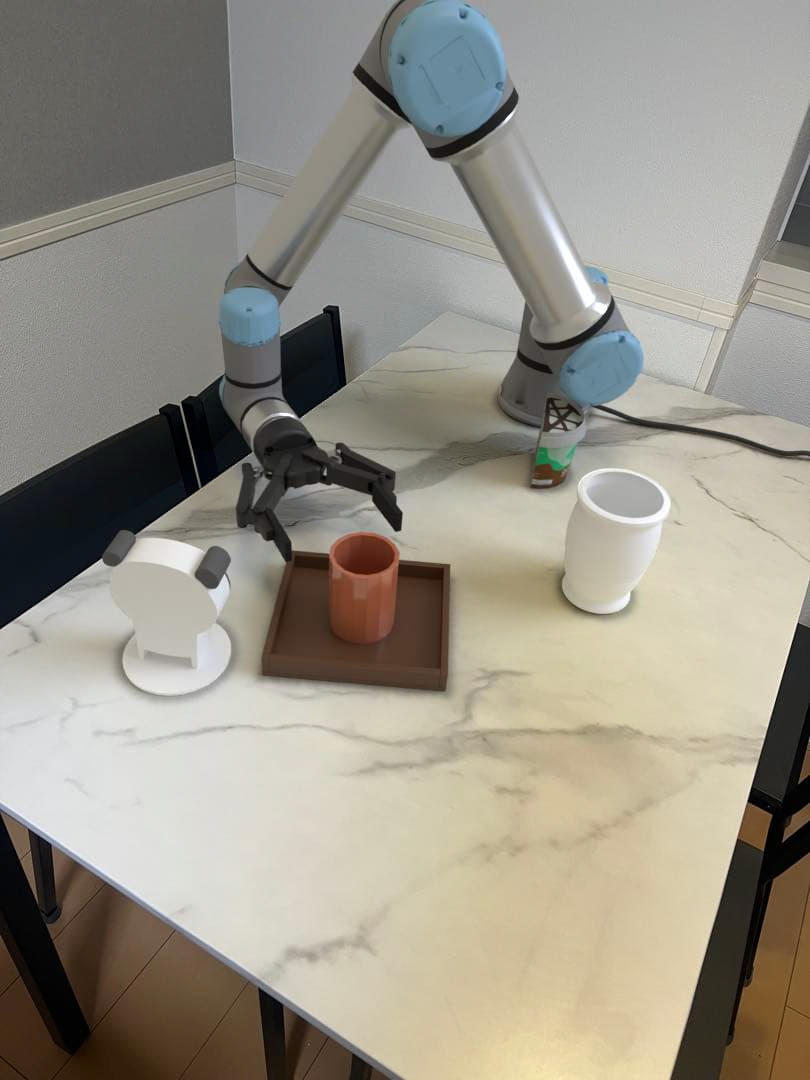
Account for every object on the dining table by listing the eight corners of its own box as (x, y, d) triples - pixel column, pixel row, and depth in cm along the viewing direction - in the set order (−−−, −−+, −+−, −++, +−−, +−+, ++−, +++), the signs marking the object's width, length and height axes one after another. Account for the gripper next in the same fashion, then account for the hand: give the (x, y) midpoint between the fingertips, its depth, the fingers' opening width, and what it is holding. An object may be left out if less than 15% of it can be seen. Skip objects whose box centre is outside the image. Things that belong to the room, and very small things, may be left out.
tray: (448, 579, 98) (450, 563, 97) (445, 691, 85) (448, 675, 83) (290, 565, 99) (289, 549, 97) (262, 675, 85) (260, 658, 83)
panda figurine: (250, 627, 90) (242, 523, 81) (215, 705, 82) (201, 600, 72) (149, 609, 91) (129, 505, 82) (104, 685, 83) (75, 578, 73)
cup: (396, 600, 94) (401, 535, 88) (391, 646, 88) (396, 580, 82) (333, 595, 94) (334, 529, 88) (325, 641, 88) (325, 574, 82)
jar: (586, 552, 104) (612, 456, 95) (654, 594, 99) (689, 497, 89) (535, 588, 98) (558, 490, 89) (605, 635, 93) (638, 536, 83)
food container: (572, 501, 113) (587, 441, 106) (529, 493, 113) (541, 433, 107) (576, 454, 122) (590, 396, 116) (536, 447, 123) (547, 390, 116)
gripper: (365, 445, 111) (438, 535, 97) (187, 485, 102) (240, 591, 88) (367, 398, 107) (444, 485, 93) (181, 435, 97) (235, 538, 83)
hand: (345, 537), depth 90 cm, fingers open, 13 cm apart
